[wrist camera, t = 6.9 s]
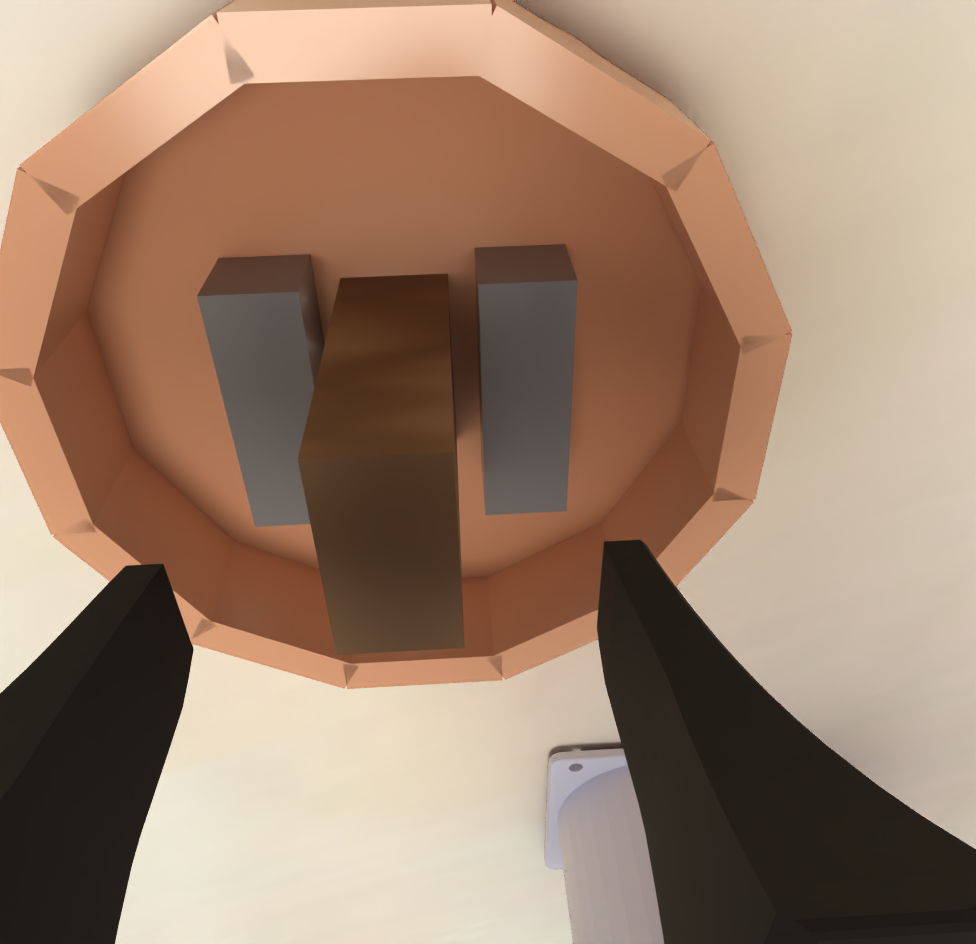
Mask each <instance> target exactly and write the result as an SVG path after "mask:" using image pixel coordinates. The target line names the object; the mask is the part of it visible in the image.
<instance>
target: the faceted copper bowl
mask: <svg viewBox="0 0 976 944" xmlns="http://www.w3.org/2000/svg"><path fill="white" fill-rule="evenodd" d="M20 166H21V167H19V168H18V169H17V172H16V177H15V182H14V187H13V191H12V196H11V201H10V206H9V211H8V215H7V220H6V225H5V230H4V235H3V239H2V244H1V249H0V423H1V425H2V427H3V430H4V432H5V434H6V436H7V438H8V441H9V443H10V445H11V447H12V449H13V452H14V454H15V456H16V458H17V460H18V463H19V465H20V467H21V469H22V471H23V474H24V476H25V478H26V480H27V483H28V485H29V487H30V489H31V491H32V494H33V496H34V498H35V500H36V502H37V505H38V507H39V509H40V511H41V513H42V516H43V518H44V520H45V522H46V524H47V527H48V529H49V531H50V533H51V534H55V535H54V538H55V539H56V540H58V541H59V542H60V543H61V544H63V545H64V546H65V547H66V548H68V549H69V550H70V551H72V552H73V553H74V554H75V555H77V556H78V557H79V558H80V559H82V560H83V561H84V562H86V563H87V564H88V565H89V566H91V567H92V568H93V569H95V570H96V571H97V572H98V573H100V574H101V575H102V576H103V577H105V578H106V579H107V580H109V581H111V580H112V579H113V578H114V577H115V576H116V575H117V574H118V573H119V572H120V571H121V570H122V569H123V568H124V567H125V566H127V565H146V564H164V567H165V569H166V572H167V575H168V578H169V581H170V584H171V587H172V589H173V592H174V595H175V598H176V601H177V604H178V606H179V609H180V612H181V615H182V618H183V621H184V624H185V626H186V629H187V632H188V635H189V638H190V641H191V643H192V644H194V645H198V646H201V647H204V648H208V649H211V650H215V651H218V652H222V653H225V654H228V655H232V656H235V657H239V658H242V659H245V660H249V661H252V662H256V663H259V664H262V665H266V666H269V667H273V668H276V669H280V670H283V671H286V672H290V673H293V674H297V675H300V676H303V677H307V678H310V679H314V680H317V681H321V682H324V683H327V684H331V685H334V686H338V687H341V688H345V687H346V685H347V689H353V688H371V687H389V686H407V685H424V684H442V683H460V682H478V681H496V680H502V676H503V677H504V678H505V679H508V678H510V677H512V676H514V675H517V674H519V673H521V672H524V671H526V670H528V669H531V668H533V667H535V666H537V665H540V664H542V663H544V662H547V661H549V660H551V659H554V658H556V657H558V656H560V655H563V654H565V653H567V652H570V651H572V650H574V649H577V648H579V647H581V646H583V645H586V644H588V643H590V642H593V641H595V640H597V639H598V633H597V617H598V605H599V594H600V582H601V570H602V558H603V546H604V541H623V540H642V541H643V542H644V543H645V544H646V545H647V546H648V548H649V549H650V551H651V552H652V554H653V555H654V557H655V558H656V560H657V561H658V563H659V564H660V565H661V567H662V568H663V570H664V571H665V573H666V574H667V575H668V577H669V578H670V579H671V581H672V582H673V583H674V585H675V586H677V585H678V584H679V583H680V582H681V581H682V579H683V578H684V577H685V576H686V575H687V574H688V573H689V572H690V571H691V570H692V569H693V567H694V566H695V565H696V564H697V563H698V562H699V561H700V560H701V559H702V558H703V557H704V556H705V554H706V553H707V552H708V551H709V550H710V549H711V548H712V547H713V546H714V545H715V544H716V542H717V541H718V540H719V539H720V538H721V537H722V536H723V535H724V534H725V533H726V532H727V531H728V529H729V528H730V527H731V526H732V525H733V524H734V523H735V522H736V521H737V520H738V519H739V517H740V516H741V515H742V514H743V513H744V512H745V511H746V510H747V509H748V508H749V507H750V506H751V504H752V503H753V500H752V499H755V498H756V493H757V489H758V484H759V480H760V476H761V471H762V467H763V462H764V458H765V453H766V449H767V444H768V440H769V435H770V431H771V427H772V422H773V418H774V413H775V409H776V404H777V400H778V395H779V391H780V386H781V382H782V378H783V373H784V369H785V364H786V360H787V355H788V351H789V346H790V342H791V337H792V334H791V331H792V330H791V327H790V325H789V323H788V320H787V318H786V315H785V313H784V311H783V308H782V306H781V303H780V301H779V299H778V296H777V294H776V291H775V289H774V286H773V284H772V282H771V279H770V277H769V274H768V272H767V270H766V267H765V265H764V262H763V260H762V258H761V255H760V253H759V250H758V248H757V246H756V243H755V241H754V238H753V236H752V234H751V231H750V229H749V226H748V224H747V221H746V219H745V217H744V214H743V212H742V209H741V207H740V205H739V202H738V200H737V197H736V195H735V193H734V190H733V188H732V185H731V183H730V181H729V178H728V176H727V173H726V171H725V169H724V166H723V164H722V161H721V159H720V157H719V154H718V152H717V149H716V147H715V144H714V143H713V142H712V141H711V139H710V138H709V137H708V136H707V135H705V134H704V133H703V132H702V131H701V130H700V129H699V128H698V127H697V126H696V125H695V124H694V123H693V122H692V121H691V120H690V119H689V118H688V117H687V116H686V115H684V114H683V113H682V112H681V111H680V110H679V109H678V108H677V107H676V106H675V105H674V104H673V103H672V102H671V101H670V100H668V99H666V98H665V97H663V96H662V95H660V94H659V93H657V92H655V91H654V90H652V89H651V88H649V87H648V86H646V85H644V84H643V83H641V82H640V81H638V80H637V79H635V78H633V77H632V76H630V75H629V74H627V73H625V72H624V71H622V70H621V69H619V68H618V67H616V66H614V65H613V64H611V63H610V62H608V61H607V60H606V59H604V58H603V57H602V56H600V55H599V54H597V53H596V52H595V51H593V50H592V49H591V48H589V47H588V46H587V45H585V44H584V43H583V42H581V41H580V40H579V39H577V38H576V37H574V36H573V35H571V34H569V33H567V32H565V31H563V30H561V29H560V28H558V27H556V26H554V25H552V24H550V23H548V22H546V21H545V20H543V19H541V18H539V17H537V16H536V15H534V14H532V13H531V12H529V11H528V10H526V9H525V8H523V7H521V6H520V5H518V4H517V3H515V2H514V1H512V0H234V1H232V2H231V3H229V4H227V5H226V6H224V7H222V8H221V9H219V10H218V11H216V12H214V13H213V14H211V15H210V16H209V17H207V18H206V19H205V20H203V21H202V22H201V23H200V24H198V25H197V26H196V27H195V28H193V29H192V30H191V31H189V32H188V33H187V34H186V35H184V36H183V37H182V38H181V39H179V40H178V41H177V42H175V43H174V44H173V45H172V46H170V47H169V48H168V49H167V50H165V51H164V52H163V53H161V54H160V55H159V56H158V57H156V58H155V59H154V60H153V61H151V62H150V63H149V64H147V65H146V66H145V67H144V68H142V69H141V70H140V71H139V72H137V73H136V74H135V75H133V76H132V77H131V78H130V79H128V80H127V81H126V82H125V83H123V84H122V85H121V86H119V87H118V88H117V89H116V90H114V91H113V92H112V93H111V94H109V95H108V96H107V97H105V98H104V99H103V100H102V101H100V102H99V103H98V104H97V105H95V106H94V107H93V108H91V109H90V110H89V111H88V112H86V113H85V114H84V115H83V116H81V117H80V118H79V119H77V120H76V121H75V122H74V123H72V124H71V125H70V126H69V127H67V128H66V129H65V130H63V131H62V132H61V133H60V134H58V135H57V136H56V137H55V138H53V139H52V140H51V141H49V142H48V143H47V144H46V145H44V146H43V147H42V148H41V149H39V150H38V151H37V152H35V153H34V154H33V155H32V156H30V157H29V158H28V159H27V160H25V161H24V162H23V163H21V164H20ZM447 273H448V288H449V307H450V326H451V344H452V363H453V382H454V400H455V419H456V438H457V463H458V489H459V515H460V541H461V567H462V592H463V618H464V644H465V648H455V649H436V650H418V651H400V652H382V653H364V654H346V655H336V650H335V645H334V640H333V635H332V630H331V625H330V620H329V615H328V610H327V605H326V600H325V595H324V590H323V585H322V580H321V575H320V570H319V565H318V560H317V555H316V549H315V544H314V539H313V534H312V529H311V524H310V519H309V514H308V509H307V504H306V499H305V494H304V489H303V484H302V479H301V474H300V469H299V464H298V456H299V451H300V447H301V443H302V439H303V434H304V430H305V426H306V422H307V417H308V413H309V409H310V405H311V401H312V396H313V392H314V388H315V384H316V379H317V375H318V371H319V367H320V362H321V358H322V354H323V350H324V345H325V341H326V337H327V333H328V328H329V324H330V320H331V316H332V311H333V307H334V303H335V299H336V294H337V290H338V286H339V282H340V278H350V277H374V276H398V275H423V274H447Z"/></svg>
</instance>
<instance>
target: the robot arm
mask: <svg viewBox="0 0 976 944" xmlns="http://www.w3.org/2000/svg"><path fill="white" fill-rule="evenodd" d="M597 633H598V640H599V647H600V654H601V660H602V666H603V673H604V679H605V684H606V688H607V692H608V696H609V699H610V703H611V707H612V710H613V714H614V718H615V721H616V725H617V729H618V732H619V736H620V739H621V743H622V747H623V748H620V749H603V750H586V751H569V752H558V753H555V754H553V755H552V756H551V757H550V758H549V760H548V782H547V807H546V832H545V864H546V866H547V867H548V868H550V869H564V877H565V884H566V892H567V900H568V908H569V916H570V923H571V931H572V939H573V944H976V849H974V848H973V847H971V846H969V845H968V844H966V843H964V842H963V841H961V840H960V839H958V838H956V837H955V836H953V835H952V834H950V833H948V832H947V831H945V830H944V829H942V828H940V827H939V826H937V825H935V824H934V823H932V822H931V821H929V820H927V819H926V818H924V817H923V816H921V815H920V814H918V813H917V812H915V811H914V810H912V809H911V808H910V807H908V806H907V805H905V804H904V803H902V802H901V801H900V800H898V799H897V798H895V797H894V796H892V795H891V794H890V793H888V792H887V791H885V790H884V789H882V788H881V787H879V786H878V785H877V784H875V783H874V782H873V781H872V780H870V779H869V778H868V777H866V776H865V775H864V774H863V773H861V772H860V771H859V770H857V769H856V768H855V767H854V766H852V765H851V764H850V763H848V762H847V761H846V760H845V759H843V758H842V757H841V756H839V755H838V754H837V753H836V752H834V751H833V750H832V749H831V748H829V747H828V746H827V745H825V744H824V743H823V742H822V741H821V740H820V739H818V738H817V737H816V736H815V735H814V734H813V733H812V732H810V731H809V730H808V729H807V728H806V727H805V726H804V725H802V724H801V723H800V722H799V721H798V720H797V719H796V718H794V717H793V716H792V715H791V714H790V713H789V712H788V711H787V710H786V709H785V708H784V707H783V706H782V705H781V704H779V703H778V702H777V701H776V700H775V699H774V698H773V697H772V696H771V695H770V694H769V693H768V692H767V691H766V690H765V689H764V688H763V687H762V686H761V685H760V684H759V683H758V682H757V681H756V680H755V679H754V678H753V677H752V676H751V675H750V674H749V673H748V672H747V671H746V669H745V668H744V667H743V666H742V665H741V664H740V663H739V662H738V661H737V660H736V659H735V658H734V657H733V655H732V654H731V653H730V652H729V651H728V650H727V649H726V648H725V646H724V645H723V644H722V643H721V642H720V641H719V640H718V639H717V637H716V636H715V635H714V634H713V633H712V631H711V630H710V629H709V628H708V626H707V625H706V624H705V623H704V622H703V620H702V619H701V618H700V617H699V616H698V614H697V613H696V612H695V611H694V610H693V608H692V607H691V606H690V604H689V603H688V602H687V601H686V599H685V598H684V597H683V595H682V594H681V593H680V591H679V590H678V589H677V587H676V586H675V585H674V583H673V582H672V581H671V579H670V578H669V577H668V575H667V574H666V573H665V571H664V570H663V568H662V567H661V565H660V564H659V563H658V561H657V560H656V558H655V557H654V555H653V554H652V552H651V551H650V549H649V548H648V546H647V545H646V544H645V543H644V542H643V541H642V540H623V541H604V546H603V558H602V570H601V582H600V594H599V605H598V617H597ZM192 655H193V646H192V643H191V641H190V638H189V635H188V632H187V629H186V626H185V624H184V621H183V618H182V615H181V612H180V609H179V606H178V604H177V601H176V598H175V595H174V592H173V589H172V587H171V584H170V581H169V578H168V575H167V572H166V569H165V567H164V564H146V565H127V566H125V567H124V568H123V569H122V570H121V571H120V572H119V573H118V574H117V575H116V576H115V577H114V578H113V579H112V580H111V581H110V582H109V583H108V584H107V586H106V587H105V588H104V589H103V590H102V591H101V592H100V593H99V594H98V595H97V596H96V597H95V598H94V599H93V600H92V601H91V602H90V604H89V605H88V606H87V607H86V608H85V609H84V610H83V611H82V612H81V613H80V614H79V615H78V616H77V617H76V618H75V619H74V621H73V622H72V623H71V624H70V625H69V626H68V627H67V628H66V629H65V630H64V631H63V632H62V633H61V634H60V635H59V636H58V637H57V638H56V639H55V640H54V641H53V642H52V643H51V644H50V645H49V647H48V648H47V649H46V650H45V651H44V652H43V653H42V654H41V655H40V656H39V657H38V658H37V659H36V660H35V661H34V662H33V663H32V664H31V665H30V666H29V667H28V668H27V669H26V670H25V671H24V672H23V673H22V674H20V675H19V676H18V677H17V678H16V679H15V680H14V681H13V682H12V683H11V684H10V685H9V686H8V687H7V688H6V689H5V690H4V691H3V692H1V693H0V944H115V940H116V935H117V930H118V925H119V920H120V916H121V911H122V907H123V902H124V898H125V893H126V889H127V884H128V880H129V876H130V871H131V867H132V863H133V859H134V856H135V852H136V849H137V845H138V842H139V838H140V835H141V832H142V829H143V826H144V823H145V820H146V817H147V814H148V811H149V808H150V805H151V802H152V799H153V796H154V793H155V790H156V787H157V784H158V781H159V778H160V775H161V772H162V769H163V766H164V763H165V760H166V757H167V754H168V751H169V748H170V745H171V742H172V739H173V736H174V733H175V730H176V727H177V723H178V720H179V717H180V714H181V711H182V708H183V703H184V698H185V693H186V688H187V683H188V678H189V672H190V666H191V661H192Z"/></svg>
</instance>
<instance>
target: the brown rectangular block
mask: <svg viewBox="0 0 976 944" xmlns="http://www.w3.org/2000/svg"><path fill="white" fill-rule="evenodd" d="M298 464H299V469H300V474H301V479H302V484H303V489H304V494H305V499H306V504H307V509H308V514H309V519H310V524H311V529H312V534H313V539H314V544H315V549H316V555H317V560H318V565H319V570H320V575H321V580H322V585H323V590H324V595H325V600H326V605H327V610H328V615H329V620H330V625H331V630H332V635H333V640H334V645H335V650H336V655H346V654H364V653H382V652H400V651H418V650H436V649H455V648H465V644H464V618H463V592H462V567H461V541H460V515H459V489H458V463H457V438H456V419H455V400H454V382H453V363H452V344H451V326H450V307H449V288H448V273H447V274H423V275H398V276H374V277H350V278H340V282H339V286H338V290H337V294H336V299H335V303H334V307H333V311H332V316H331V320H330V324H329V328H328V333H327V337H326V341H325V345H324V350H323V354H322V358H321V362H320V367H319V371H318V375H317V379H316V384H315V388H314V392H313V396H312V401H311V405H310V409H309V413H308V417H307V422H306V426H305V430H304V434H303V439H302V443H301V447H300V451H299V456H298Z"/></svg>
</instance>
